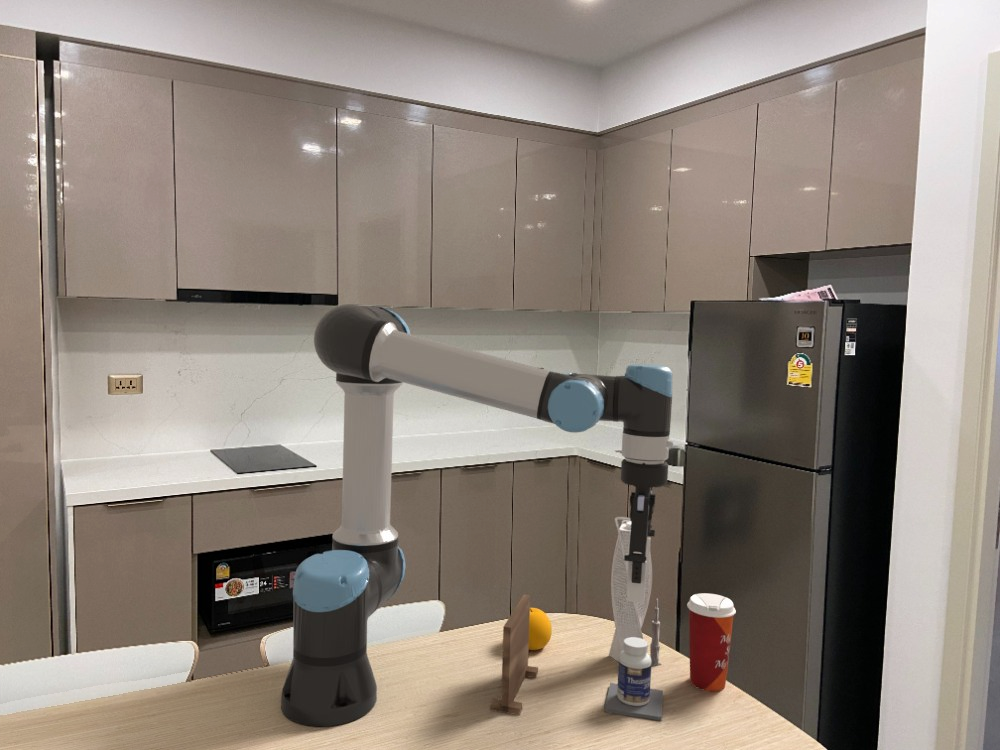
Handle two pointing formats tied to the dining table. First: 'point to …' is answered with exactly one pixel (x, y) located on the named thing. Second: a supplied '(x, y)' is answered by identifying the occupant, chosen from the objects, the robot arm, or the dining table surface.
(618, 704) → the coaster
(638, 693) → the pill bottle
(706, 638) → the coffee cup
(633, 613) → the skyscraper
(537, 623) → the orange
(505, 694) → the screen
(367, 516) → the robot arm
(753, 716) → the dining table surface
